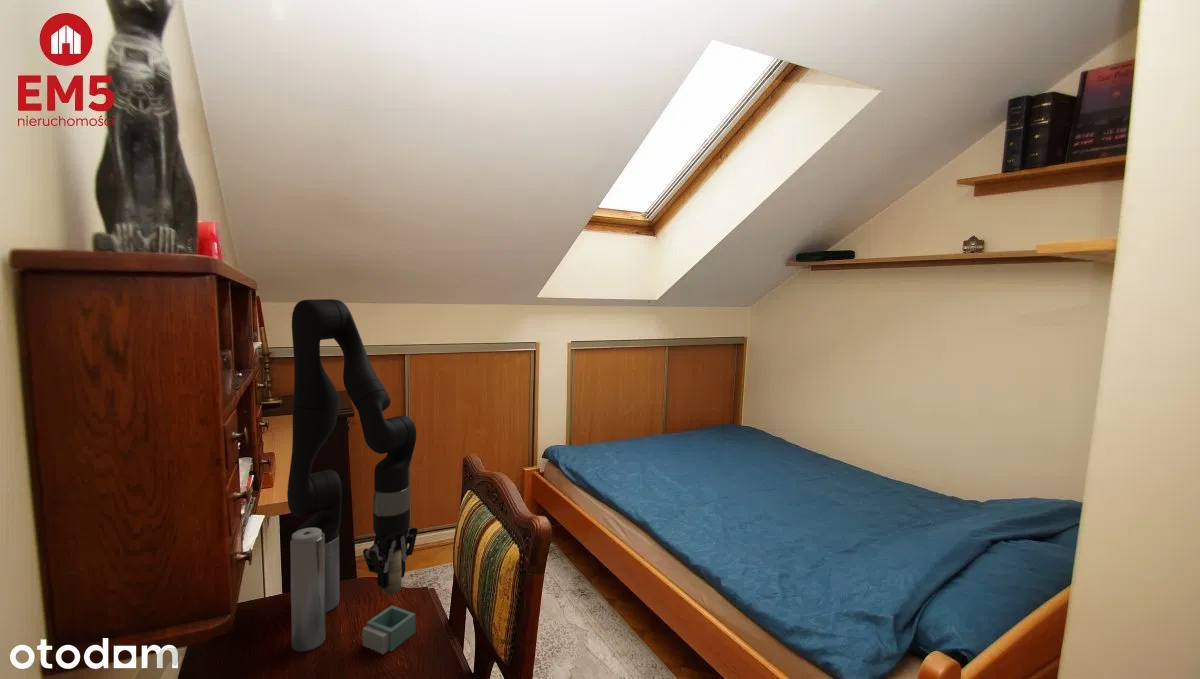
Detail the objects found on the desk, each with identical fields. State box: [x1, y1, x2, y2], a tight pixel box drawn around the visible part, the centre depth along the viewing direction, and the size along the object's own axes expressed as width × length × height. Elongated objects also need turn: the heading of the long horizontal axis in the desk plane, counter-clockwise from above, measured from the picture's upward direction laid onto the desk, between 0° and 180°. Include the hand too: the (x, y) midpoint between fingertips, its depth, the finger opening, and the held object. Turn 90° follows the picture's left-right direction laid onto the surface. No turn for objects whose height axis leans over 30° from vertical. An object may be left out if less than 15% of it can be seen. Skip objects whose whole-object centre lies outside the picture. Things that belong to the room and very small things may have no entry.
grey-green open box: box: [366, 604, 416, 652], centre depth 116 cm, size 7×7×4 cm
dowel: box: [381, 549, 402, 595], centre depth 115 cm, size 4×4×9 cm
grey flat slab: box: [362, 624, 389, 655], centre depth 112 cm, size 6×1×4 cm, turn 66°
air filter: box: [289, 528, 326, 653], centre depth 113 cm, size 6×6×25 cm
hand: (391, 581), depth 115 cm, fingers closed on dowel, 4 cm apart
